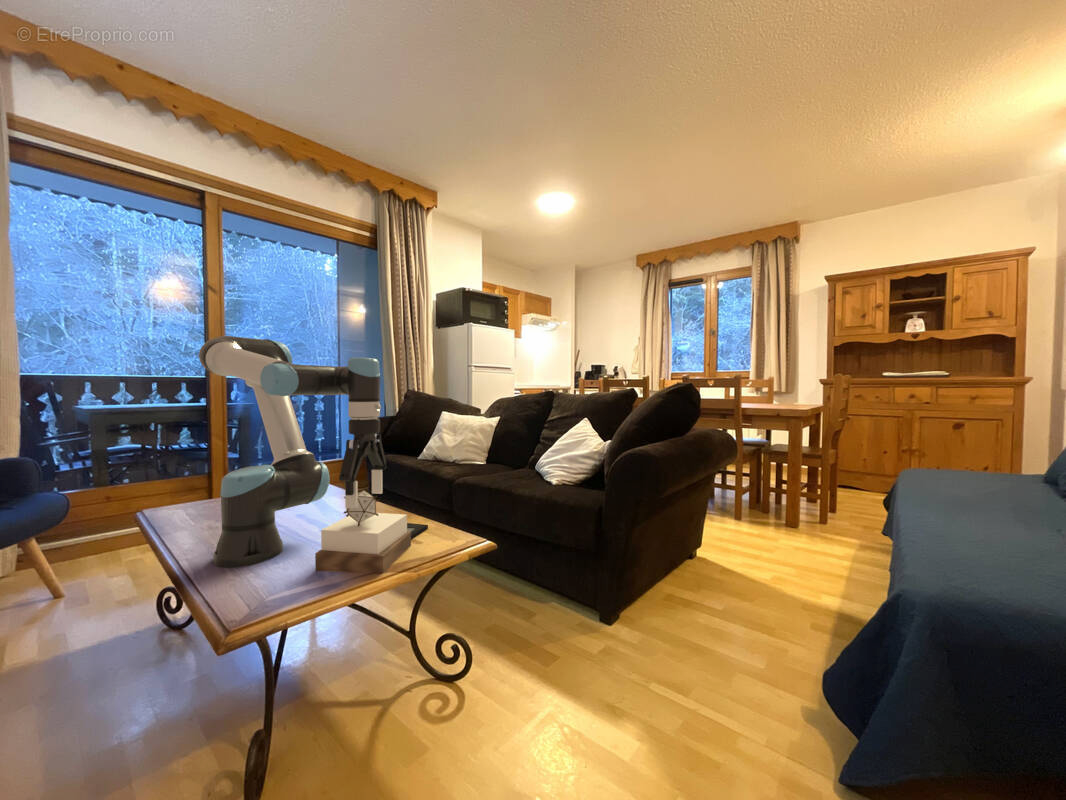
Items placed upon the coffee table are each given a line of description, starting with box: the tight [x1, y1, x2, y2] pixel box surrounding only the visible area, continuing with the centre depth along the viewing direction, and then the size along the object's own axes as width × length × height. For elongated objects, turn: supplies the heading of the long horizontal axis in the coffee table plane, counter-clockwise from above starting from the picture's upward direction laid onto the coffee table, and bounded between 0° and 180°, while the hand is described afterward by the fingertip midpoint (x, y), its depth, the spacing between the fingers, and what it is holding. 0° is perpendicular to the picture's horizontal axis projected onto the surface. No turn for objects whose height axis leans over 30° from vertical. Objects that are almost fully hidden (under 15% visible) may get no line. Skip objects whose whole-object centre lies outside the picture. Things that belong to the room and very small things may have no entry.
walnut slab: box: [314, 531, 412, 574], centre depth 107 cm, size 17×17×5 cm
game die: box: [343, 486, 379, 527], centre depth 105 cm, size 9×8×10 cm
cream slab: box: [320, 512, 408, 554], centre depth 107 cm, size 15×15×5 cm
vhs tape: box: [407, 522, 429, 541], centre depth 123 cm, size 8×14×2 cm, turn 166°
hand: (365, 500), depth 107 cm, fingers open, 13 cm apart
